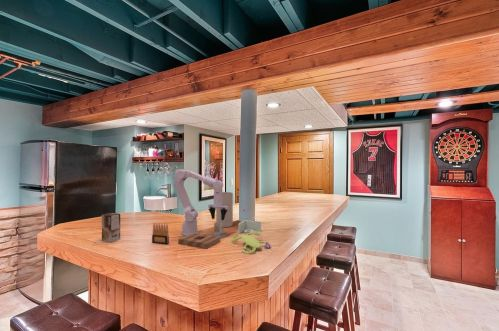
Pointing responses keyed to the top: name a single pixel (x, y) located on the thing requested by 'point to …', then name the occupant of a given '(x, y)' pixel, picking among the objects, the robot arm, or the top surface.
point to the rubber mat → (221, 235)
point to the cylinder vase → (227, 201)
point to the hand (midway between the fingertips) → (218, 219)
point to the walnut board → (199, 240)
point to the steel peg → (218, 228)
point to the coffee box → (110, 227)
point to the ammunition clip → (160, 234)
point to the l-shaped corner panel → (249, 226)
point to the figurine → (250, 241)
